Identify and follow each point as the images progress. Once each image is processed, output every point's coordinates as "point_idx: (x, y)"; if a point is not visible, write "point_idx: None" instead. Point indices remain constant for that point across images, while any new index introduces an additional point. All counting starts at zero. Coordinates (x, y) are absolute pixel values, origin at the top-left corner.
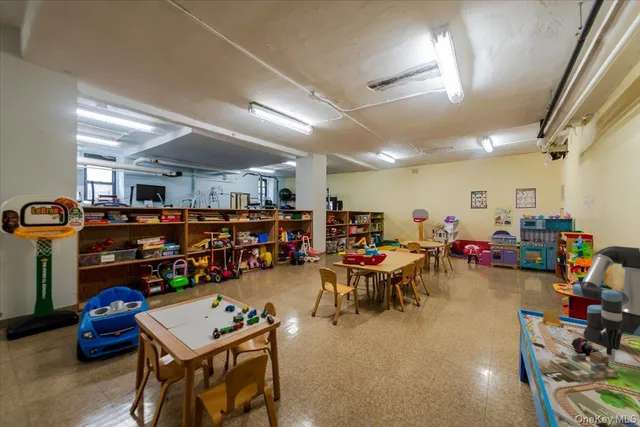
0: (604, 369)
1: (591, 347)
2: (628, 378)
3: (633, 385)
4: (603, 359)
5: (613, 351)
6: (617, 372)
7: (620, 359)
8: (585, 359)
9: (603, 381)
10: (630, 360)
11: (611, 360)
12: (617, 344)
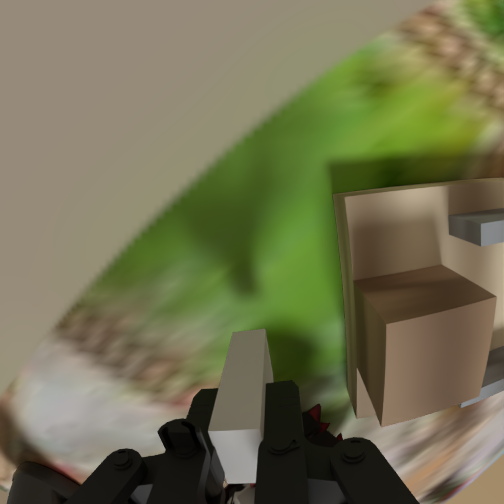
0: (463, 213)
1: (242, 497)
2: (265, 164)
3: (329, 75)
4: (451, 296)
5: (247, 410)
6: (346, 195)
7: (80, 394)
8: None
9: (497, 144)
10: (36, 374)
11: (267, 341)
12: (118, 500)
